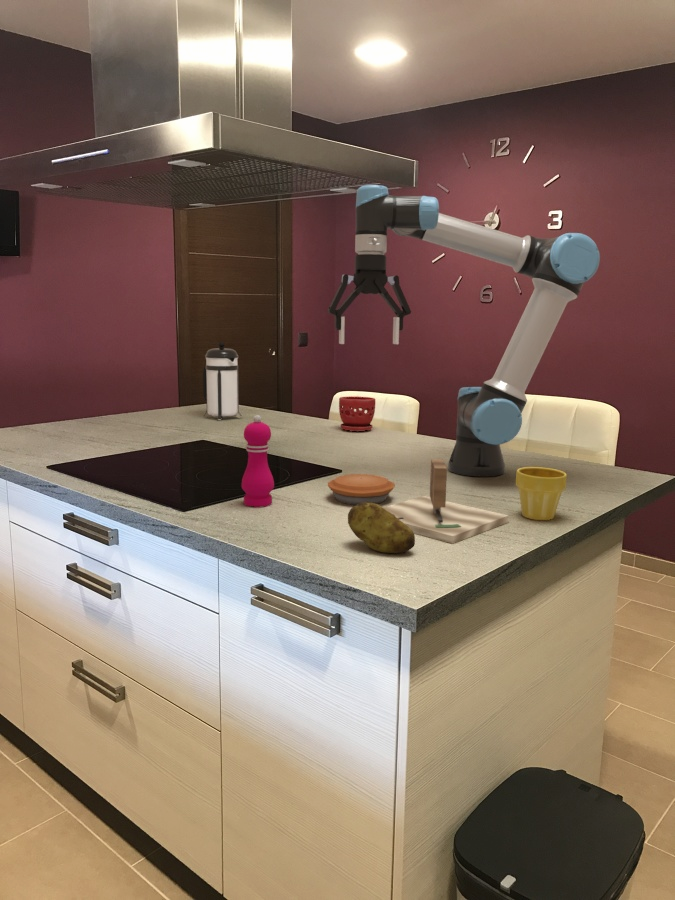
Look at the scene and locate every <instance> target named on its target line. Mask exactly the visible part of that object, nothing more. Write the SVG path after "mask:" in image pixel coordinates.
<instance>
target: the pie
mask: <svg viewBox="0 0 675 900" xmlns="http://www.w3.org/2000/svg"><path fill="white" fill-rule="evenodd" d="M395 485H396V484H395V482H393V481H391V480H389V479H387V478H386V477H383V476H380V475H375V474H367V473H366V474H364V473H362V474H361V473H354V474H344V475H339V476H336V477H335V478H334V479H332V480H330V481H328V482H327V486H328V488H329V490H330V491H332V494H333V496H334V497H335V498H336V500H337V501H338V502H340V503H343V504H347V505H352V506H353V505H354V506H356V505H358V504H360V503H364V502H370V503H375V504H378V505H379V504H382V503H383V502H385V501H386V499H387V498H388V496H389V494H390V493H391V492H392V491H393V490H394V488H395Z"/></svg>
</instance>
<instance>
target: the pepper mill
mask: <svg viewBox="0 0 675 900" xmlns="http://www.w3.org/2000/svg"><path fill="white" fill-rule="evenodd" d="M252 420H253V422H250V423H248V424H247V425H246V426H245V428H244V430H243V439H244V440H245V441H246V445H245V446H246V449H245V450H246V452H247V456H248V457H247V465H246V467H245V470H244V473H243V476H242V479H241V489H242V490H243V491H244V492H245V495H244V496H243V504H244V506H247V507H250V506H254V507H253V508H261V507H260V506H264V507H268V506H267V505H269V506H270V504H271V503H273V496H272V494H271V492H273V490H274V488H275V481H274V477H273V475H272V472H271V470H270V467H269V463H268V451H270V448H269V446H270V444H269V443H268V442H269V441H270V440H271V437H272V431H271V428H270V426H269V425H268V424H266V423H264V422H262V417H261V415H259V414H256V415H254V416H253V418H252ZM271 505H272V504H271Z"/></svg>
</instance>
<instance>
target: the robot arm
mask: <svg viewBox="0 0 675 900" xmlns="http://www.w3.org/2000/svg"><path fill="white" fill-rule="evenodd" d="M355 198H356V199H355V200H356V201H355V237H354V238H355V239H354V240H355V243H354V245H355V247H354V252H355V254H356V255H355V256H354V274H353V275H348V274H346V273H345V274H342V275H341V278H340V284H339V287H338V289H337V290H336V292H335V294H334V297H332V298H333V299H332V301H331V302H330V304H329V306H328V309H327V313H328V314H331V315H333V316H334V329H335V330H336V331H337V330H338V344H340V345H345V323H346V322H345V321H346V320H345V318H346V317H345V316H342V315H343V314H344V313H345V311H346V310H347V309H348V308H349V306H351V304H352V303H353V302H354V301H355V300H356V298H357V297H358V296H359V295H360V294H362V295H368V294H371V295H378V294H379V295H380V297H381V298H383V300H384V302H385V303H387V305H388V307H390V309H391V310H392V311H393V313H394V314H395V315H396V316H393V321H392V323H393V324H392V345H399V344H400V342H399V341H400V339H399V338H400V331H403V329H404V318H405V316H408V315H411V314H412V310H411V308H410V306H409V304H408V301H407V298H406V296H405V294H404V292H403V289H402V287H401V285H400V276H399V275H397V274H396V275H392V276H387V256H386V255H385V254H386V253H387V243H388V242H387V241H388V240H387V239H388V229H390V230H392V231H393V232H394V234H396V235H398V236H401V237H410V238H413V239H417V240H421V241H425V242H428V243H431V244H435V245H437V246H441V247H444V248H448V249H452V250H454V251H458V252H462V253H465V254H468V255H471V256H474V257H478V258H482V259H485V260H487V261H491V262H494V263H497V264H501V265H504V266H508V267H510V268H512V269H513V271H514V272H515V273H516V274H519V275H520V274H521V275H523V276H526V277H528V278H531V281H532V284H533V288H534V289H533V291H532V294H531V296H530V298H529V300H528V303H527V304H526V306H525V309H524V311H523V312H522V314H521V317H520V319H519V321H518V323H517V325H516V328H515V330H514V332H513V334H512V336H511V338H510V339H509V343H508V345H507V346H506V349H505V351H504V352H503V353H504V354H503V355H502V357H501V359H500V362H499V364H498V366H497V368H496V371H495V373H494V374H493V376H492V377H491V379H488V380H485V381H483V383H482V386H468V387H467V386H464V387H461V388H459V390H458V394H457V395H458V396H457V398H456V399H457V409H456V410H457V414H456V433H455V434H456V435H455V436H456V438H455V444H454V448H452V452H451V455H450V457H449V460H448V466H447V470H448V471H449V472H451V473H454V474H457V475H460V476H461V475H462V476H468V477H484V478H485V477H497V476H502V475H503V474H504V473H505V471H506V470H505V469H506V464H505V461H504V456H503V452H502V449H501V445H504V444H507V443H508V442H510V441H512V440H513V439H515V438H516V437H517V436H518V434H519V432H520V431H521V429H522V425H523V417H522V414H523V413H522V412H523V411H524V409H525V407H526V404H527V402H528V399H527V396H526V393H525V392H526V390H527V388H528V385H529V384H530V382H531V379H532V377H533V376H534V373H535V372H536V369H537V367H538V366H539V363H540V361H541V359H542V356H543V355H544V353H545V350H546V348H547V346H548V343H549V342H550V341H551V338H552V336H553V333H554V331H555V330H556V327H557V326H558V323H559V322H560V319H561V317H562V315H563V313H564V311H565V308H566V306H567V305H568V303H569V302H571V301H574V300H575V299H577V298H578V296H579V294H580V293H581V292H580V291H581V290H582V289H583V286H584V284H585V283H586V282H587V281H590V279H591V278H593V276H595V274H596V273H597V271H598V269H599V266H600V261H601V260H600V259H601V255H600V251H599V248H598V246H597V244H596V242H595V241H594V240H593V239H592V238H591V237H590V236H588V235H586V234H584V233H581V232H579V233H578V232H568V233H567V232H566V233H564V234H561V235H560V236H556V237H551V238H550V237H549V238H544V237H543V238H542V237H536V236H531V235H527V234H526V235H525V236H523V237H522V236H521V237H520V236H517V235H514V234H510V233H507V232H504V231H500V230H497V229H494V228H491V227H488V226H484V225H480V224H477V223H474V222H470V221H468V220H464V219H461V218H457V217H454V216H450V215H448V214H447V215H446V214H444V213H441V212H439V211H440V205H439V199H437V198H436V197H434V196H426V195H417V196H416V195H392V194H391V195H390V193H389V188H388V187H387V186H384V185H380V184H379V185H378V184H366V185H362V186H359V187H358V188H357V190H356V197H355ZM352 282H353V283H354V285H355V288H354V289H353V290H352V291H351V292H350V294H349V295H348V296H347V298H346V299H345V300H344V301H343V302H342V303H341V305H340V306H339V303H340V301H341V299H342V297H343V295H344V293H345V291H346V288H347V287H348V285H350V284H351V283H352ZM387 283H389V285H391V286H392V289H393V291H394V294H395V296H396V298H397V299H396V300H397V301H398V304H399V305H400V307H399V305H398V304H397V302H395V300H394V299H393V298H392V296H391V295H390V293H389V292H388V290H387V288H385V286H386V284H387ZM337 307H338V308H337Z"/></svg>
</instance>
